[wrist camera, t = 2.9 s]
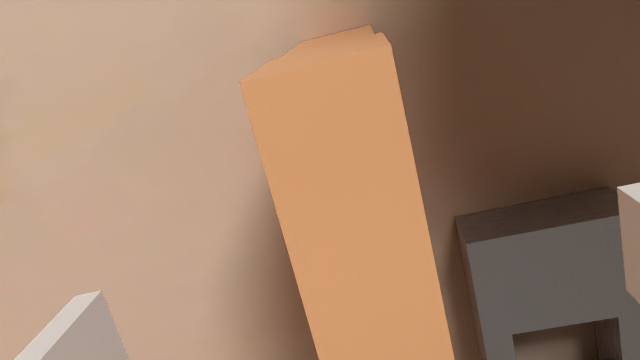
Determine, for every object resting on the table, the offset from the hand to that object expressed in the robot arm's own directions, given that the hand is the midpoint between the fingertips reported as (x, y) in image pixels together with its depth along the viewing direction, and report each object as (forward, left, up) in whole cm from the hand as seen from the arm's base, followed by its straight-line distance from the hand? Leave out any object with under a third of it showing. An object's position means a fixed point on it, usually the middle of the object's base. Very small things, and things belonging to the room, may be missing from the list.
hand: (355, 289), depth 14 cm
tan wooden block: (0, 0, -12) cm, 12 cm away
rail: (+15, +7, -12) cm, 21 cm away
